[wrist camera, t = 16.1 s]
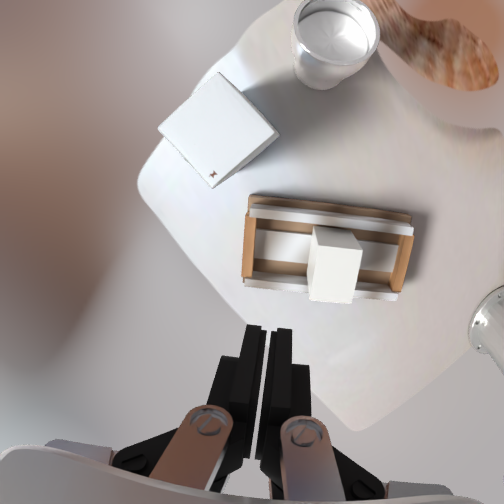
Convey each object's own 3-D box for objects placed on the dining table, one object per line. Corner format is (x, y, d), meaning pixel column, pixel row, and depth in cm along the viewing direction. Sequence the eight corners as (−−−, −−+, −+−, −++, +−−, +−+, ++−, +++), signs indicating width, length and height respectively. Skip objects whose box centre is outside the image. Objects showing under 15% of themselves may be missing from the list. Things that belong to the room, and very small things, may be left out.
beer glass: (357, 84, 33) (397, 56, 19) (303, 101, 34) (313, 79, 20) (334, 33, 31) (358, -19, 17) (280, 50, 33) (275, 2, 19)
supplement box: (282, 135, 36) (279, 134, 24) (234, 174, 38) (210, 192, 27) (241, 89, 35) (218, 68, 23) (195, 130, 37) (154, 129, 25)
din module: (350, 230, 37) (362, 250, 31) (342, 277, 39) (351, 305, 33) (313, 225, 37) (318, 245, 31) (306, 274, 40) (309, 301, 33)
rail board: (407, 213, 38) (419, 222, 34) (390, 292, 41) (398, 306, 38) (250, 194, 39) (245, 201, 35) (244, 277, 43) (239, 291, 39)
